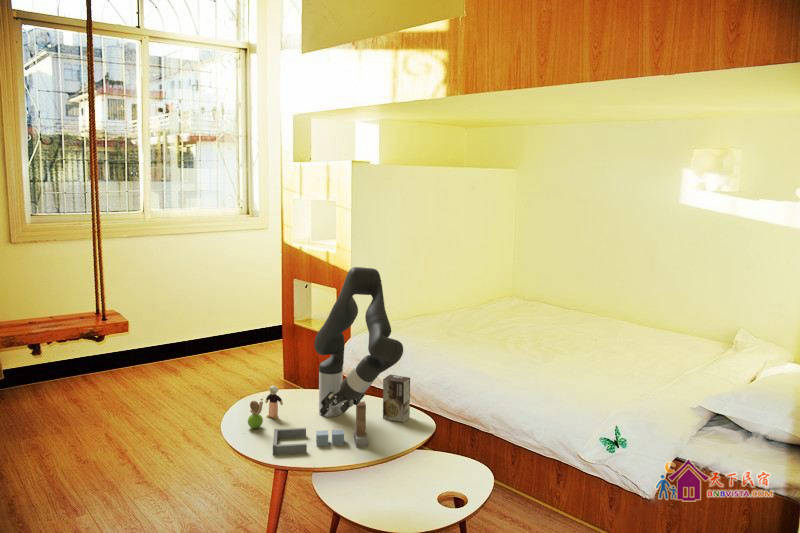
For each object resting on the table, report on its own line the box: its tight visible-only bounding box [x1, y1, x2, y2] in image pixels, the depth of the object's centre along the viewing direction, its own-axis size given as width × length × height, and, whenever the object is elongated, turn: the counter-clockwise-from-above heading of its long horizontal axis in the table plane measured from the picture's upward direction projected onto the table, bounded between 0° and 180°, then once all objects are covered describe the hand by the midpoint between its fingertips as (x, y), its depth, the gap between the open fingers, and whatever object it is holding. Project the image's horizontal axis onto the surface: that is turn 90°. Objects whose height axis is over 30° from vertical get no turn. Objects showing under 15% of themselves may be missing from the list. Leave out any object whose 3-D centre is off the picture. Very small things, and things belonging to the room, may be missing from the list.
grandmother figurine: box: [264, 385, 284, 420], centre depth 237 cm, size 8×4×13 cm, turn 81°
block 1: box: [315, 429, 329, 447], centre depth 215 cm, size 4×4×4 cm
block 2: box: [331, 429, 345, 446], centre depth 216 cm, size 4×4×4 cm
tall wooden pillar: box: [353, 401, 369, 448], centre depth 217 cm, size 9×4×14 cm, turn 10°
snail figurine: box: [247, 398, 264, 429], centre depth 226 cm, size 5×6×12 cm
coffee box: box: [382, 374, 411, 423], centre depth 239 cm, size 9×6×16 cm
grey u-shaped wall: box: [272, 427, 308, 456], centre depth 214 cm, size 14×11×3 cm
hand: (331, 412), depth 201 cm, fingers open, 8 cm apart
